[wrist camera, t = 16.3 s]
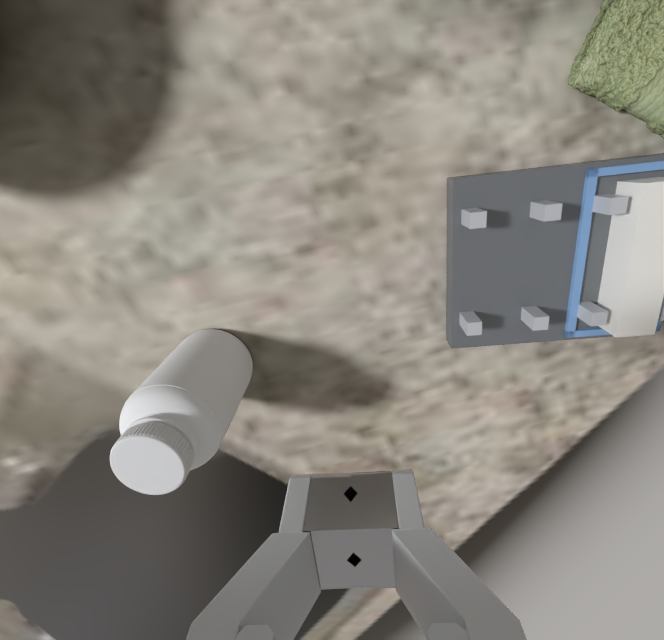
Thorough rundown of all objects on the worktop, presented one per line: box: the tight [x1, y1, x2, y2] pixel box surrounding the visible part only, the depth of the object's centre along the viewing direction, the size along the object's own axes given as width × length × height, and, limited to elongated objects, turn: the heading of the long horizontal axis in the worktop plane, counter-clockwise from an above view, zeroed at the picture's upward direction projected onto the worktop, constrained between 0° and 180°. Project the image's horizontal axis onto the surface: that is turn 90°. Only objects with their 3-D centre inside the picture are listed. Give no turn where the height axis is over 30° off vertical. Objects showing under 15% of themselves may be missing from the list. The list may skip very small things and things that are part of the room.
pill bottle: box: [110, 329, 253, 495], centre depth 33 cm, size 8×8×15 cm
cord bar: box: [597, 177, 664, 337], centre depth 30 cm, size 12×3×3 cm, turn 6°
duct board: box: [446, 153, 664, 348], centre depth 32 cm, size 15×18×4 cm
